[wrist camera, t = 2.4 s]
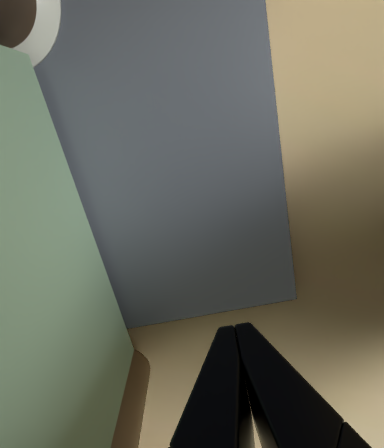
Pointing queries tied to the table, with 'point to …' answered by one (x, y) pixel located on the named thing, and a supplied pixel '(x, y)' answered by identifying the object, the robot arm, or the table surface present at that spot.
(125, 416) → the hinged fence panel
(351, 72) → the table surface
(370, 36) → the table surface
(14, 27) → the fixed fence section
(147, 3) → the card
